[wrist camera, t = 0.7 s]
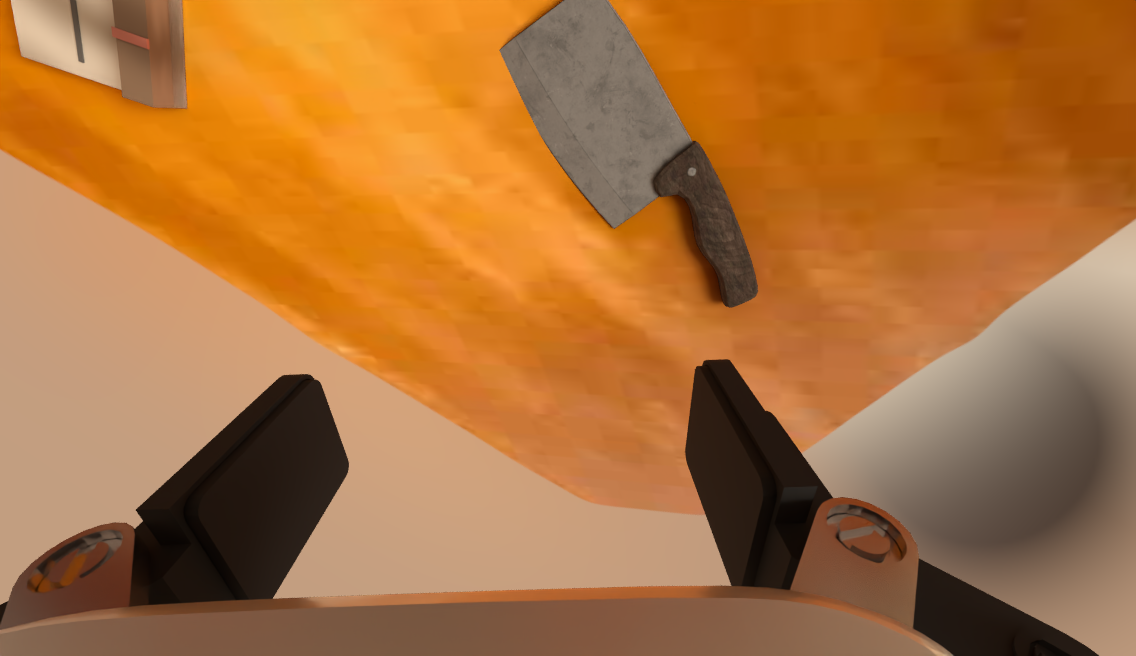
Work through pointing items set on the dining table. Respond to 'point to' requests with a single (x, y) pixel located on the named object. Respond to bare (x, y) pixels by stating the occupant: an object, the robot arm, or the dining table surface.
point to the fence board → (110, 44)
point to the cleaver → (622, 130)
